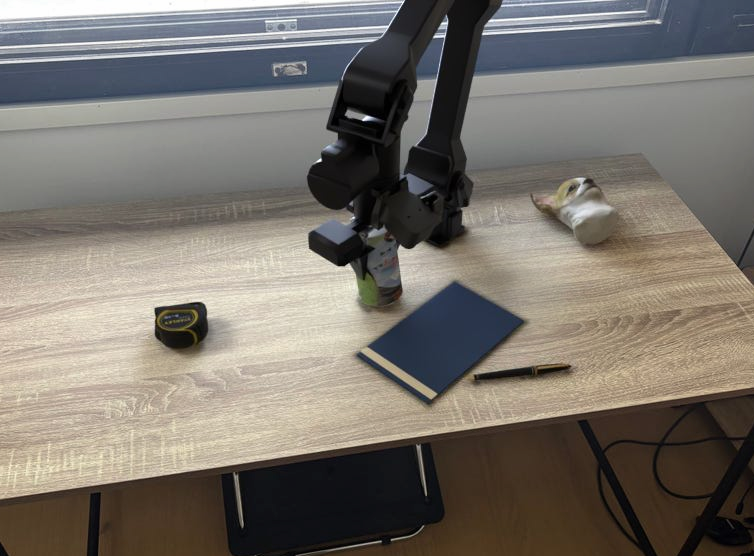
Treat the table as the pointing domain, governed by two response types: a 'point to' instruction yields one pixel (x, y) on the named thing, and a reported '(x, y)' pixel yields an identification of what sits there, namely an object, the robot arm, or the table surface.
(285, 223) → the table surface
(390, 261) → the beverage can
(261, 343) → the table surface
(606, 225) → the ceramic sculpture
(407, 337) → the blue hardcover notebook
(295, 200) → the table surface
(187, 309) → the tape measure
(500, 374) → the fountain pen
